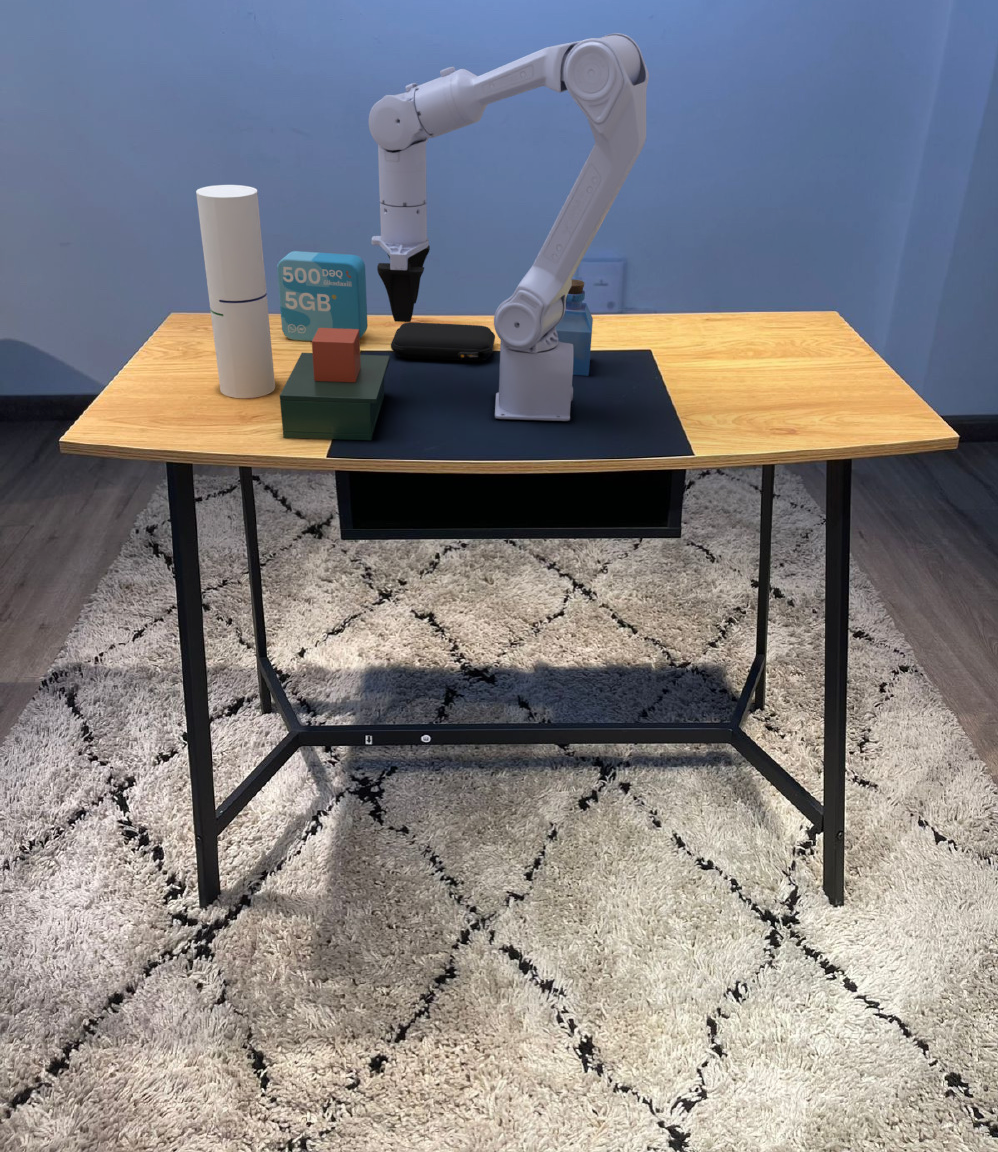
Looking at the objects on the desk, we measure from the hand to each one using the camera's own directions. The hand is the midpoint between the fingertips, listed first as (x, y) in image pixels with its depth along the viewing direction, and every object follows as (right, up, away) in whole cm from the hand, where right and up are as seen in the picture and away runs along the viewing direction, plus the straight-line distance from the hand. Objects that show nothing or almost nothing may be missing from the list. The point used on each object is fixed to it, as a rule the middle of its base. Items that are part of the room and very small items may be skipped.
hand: (405, 311), depth 132 cm
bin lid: (-8, -10, -6) cm, 14 cm away
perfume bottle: (+22, -4, +14) cm, 26 cm away
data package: (-14, +2, +22) cm, 26 cm away
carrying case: (+4, -2, +17) cm, 18 cm away
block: (-8, -9, -6) cm, 13 cm away
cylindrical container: (-21, -9, +4) cm, 24 cm away
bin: (-8, -14, -3) cm, 16 cm away
